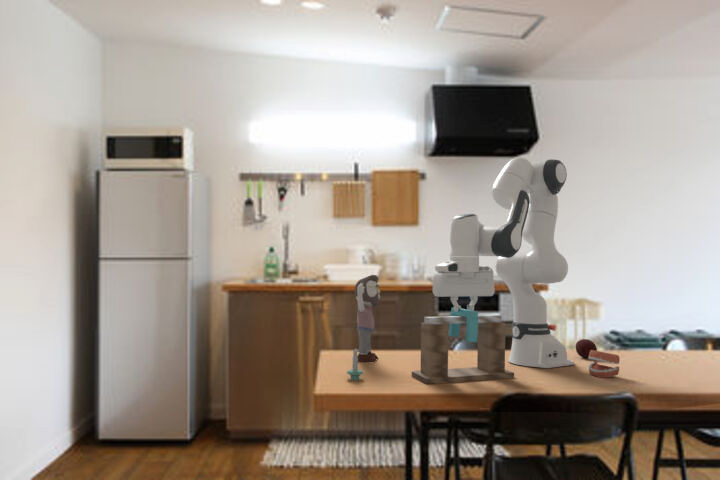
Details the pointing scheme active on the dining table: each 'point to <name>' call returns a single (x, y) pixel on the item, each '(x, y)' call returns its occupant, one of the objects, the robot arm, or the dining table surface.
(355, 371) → the screw
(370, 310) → the figurine
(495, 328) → the shelf
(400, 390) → the dining table surface
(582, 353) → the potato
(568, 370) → the dining table surface
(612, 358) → the dentures
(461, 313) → the teal stepped bracket
